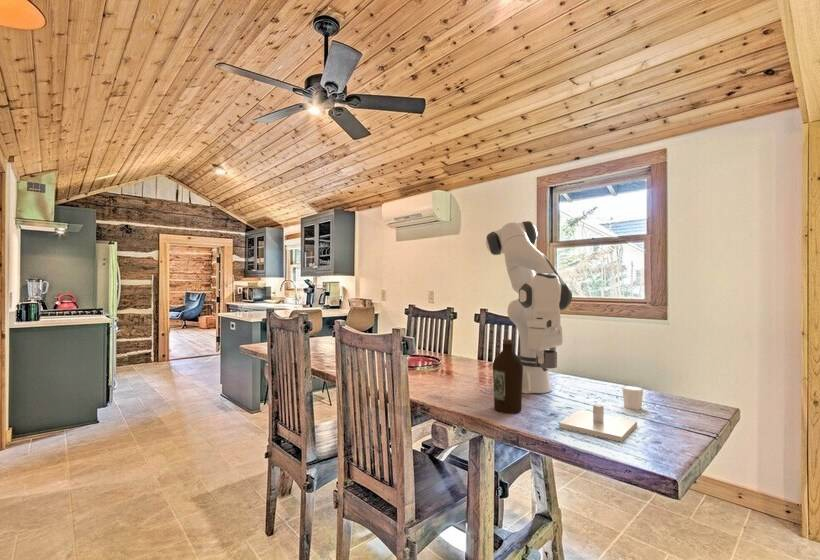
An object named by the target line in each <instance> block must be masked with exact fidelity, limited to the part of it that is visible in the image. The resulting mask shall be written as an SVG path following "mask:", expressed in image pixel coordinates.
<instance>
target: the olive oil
mask: <svg viewBox="0 0 820 560" xmlns="http://www.w3.org/2000/svg"><path fill="white" fill-rule="evenodd" d="M518 356H519V355H517V354H516V353H515V351H513V340H512V339H510V338H509V339H506V338H505V339H502V351H500V353H499V354H498V355H497V356H496V357H495V358H494V359H493V363H492V381H493V382H492V383H493V385H492V386H493V402H494V403H493V406H494V408H493V409H494V410H495V411H497V412H499V413H502V414H503V413H504V414H519V413H520V412H522V401H523V400H522V398H523V397H522V395H523V393H522V378H523V365H522V362H521V360H520V358H519V357H518Z"/></svg>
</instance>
